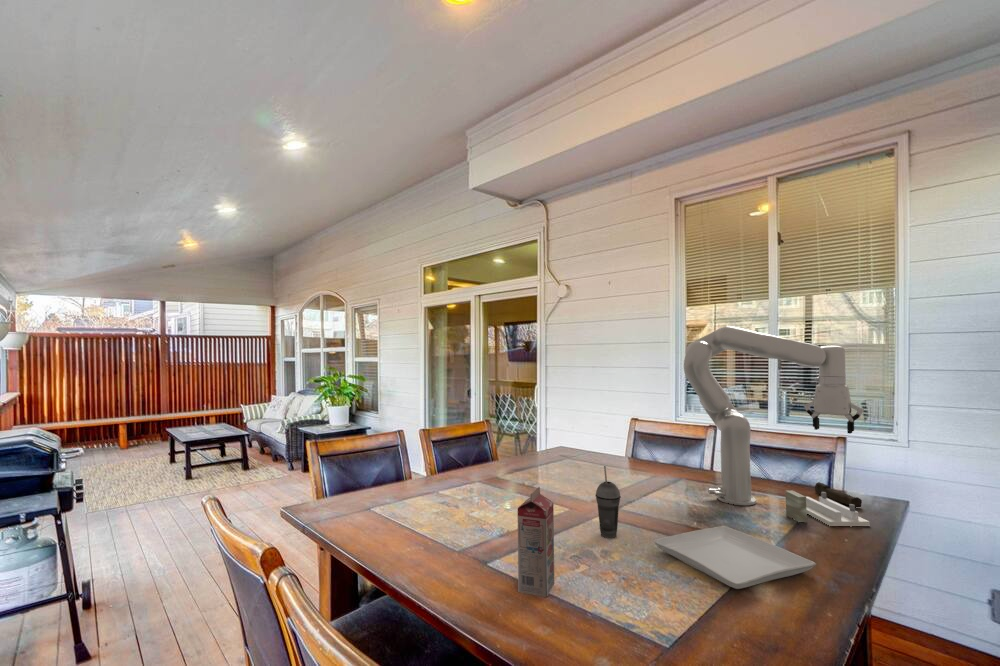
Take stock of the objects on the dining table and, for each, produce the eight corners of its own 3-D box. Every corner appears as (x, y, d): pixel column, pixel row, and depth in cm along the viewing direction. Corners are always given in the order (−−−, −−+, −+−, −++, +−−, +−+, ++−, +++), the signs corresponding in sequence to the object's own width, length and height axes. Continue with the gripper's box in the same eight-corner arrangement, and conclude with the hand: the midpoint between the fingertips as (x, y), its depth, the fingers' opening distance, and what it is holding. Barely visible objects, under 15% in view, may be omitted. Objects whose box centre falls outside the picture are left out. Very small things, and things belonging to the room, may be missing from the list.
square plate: (737, 601, 103) (737, 582, 103) (650, 553, 128) (650, 538, 128) (818, 576, 114) (818, 560, 114) (724, 536, 139) (723, 523, 139)
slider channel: (830, 526, 145) (829, 507, 146) (794, 507, 163) (794, 490, 164) (869, 526, 145) (868, 507, 145) (829, 507, 163) (829, 490, 163)
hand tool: (863, 509, 162) (862, 495, 162) (851, 509, 162) (851, 495, 162) (822, 493, 181) (822, 481, 181) (812, 493, 180) (812, 481, 181)
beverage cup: (607, 542, 135) (605, 471, 135) (590, 533, 141) (589, 465, 142) (626, 537, 138) (625, 468, 139) (610, 529, 144) (608, 463, 145)
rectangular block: (799, 522, 149) (798, 496, 149) (786, 515, 156) (785, 490, 156) (807, 522, 149) (806, 496, 149) (793, 515, 156) (792, 490, 156)
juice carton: (518, 592, 107) (517, 493, 108) (527, 578, 113) (526, 485, 114) (546, 597, 105) (545, 495, 106) (554, 583, 111) (553, 487, 112)
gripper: (800, 380, 169) (801, 429, 168) (860, 383, 156) (861, 435, 155) (807, 379, 174) (807, 426, 173) (865, 382, 161) (866, 433, 160)
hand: (833, 431), depth 164 cm, fingers open, 9 cm apart
